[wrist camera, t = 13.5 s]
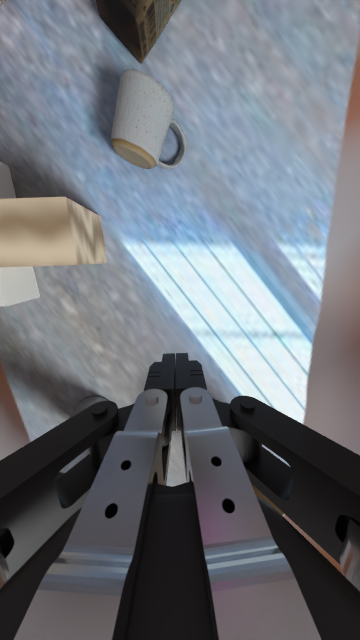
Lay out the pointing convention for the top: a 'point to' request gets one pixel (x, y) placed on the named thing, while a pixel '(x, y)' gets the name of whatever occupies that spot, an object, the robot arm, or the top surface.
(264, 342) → the top surface
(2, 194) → the white rectangular block
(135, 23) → the beverage carton
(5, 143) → the top surface
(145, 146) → the ceramic mug
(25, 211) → the maple block
